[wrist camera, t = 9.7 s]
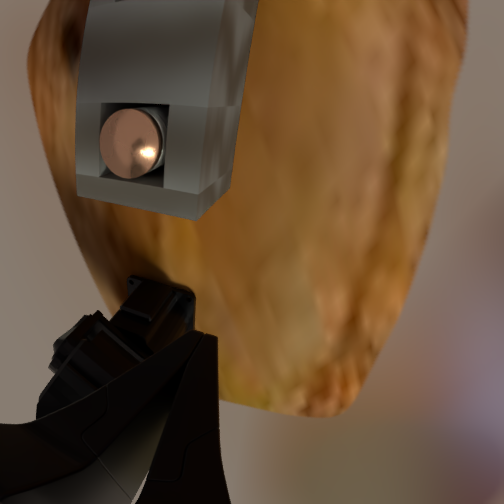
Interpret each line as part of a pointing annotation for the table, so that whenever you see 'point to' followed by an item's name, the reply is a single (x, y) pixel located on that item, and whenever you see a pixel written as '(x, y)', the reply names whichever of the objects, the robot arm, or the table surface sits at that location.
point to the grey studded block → (164, 96)
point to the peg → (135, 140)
